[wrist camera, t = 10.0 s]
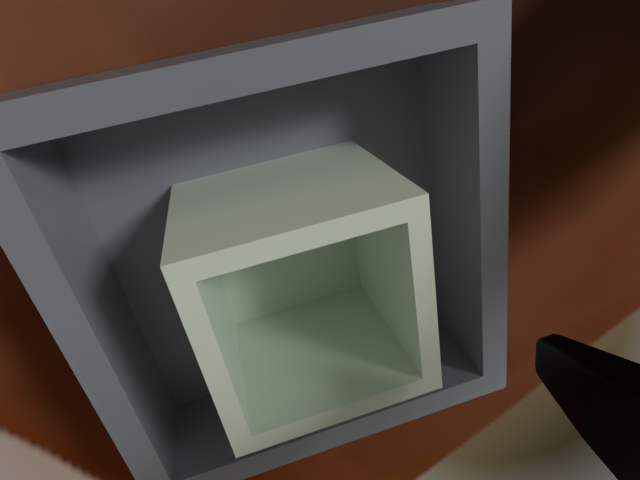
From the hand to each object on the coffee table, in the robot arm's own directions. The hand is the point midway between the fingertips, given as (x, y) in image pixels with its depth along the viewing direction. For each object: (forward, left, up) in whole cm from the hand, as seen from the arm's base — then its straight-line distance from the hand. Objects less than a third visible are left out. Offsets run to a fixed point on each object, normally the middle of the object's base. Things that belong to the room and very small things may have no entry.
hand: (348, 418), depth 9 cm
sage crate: (0, 0, -9) cm, 9 cm away
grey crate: (0, 0, -10) cm, 10 cm away
